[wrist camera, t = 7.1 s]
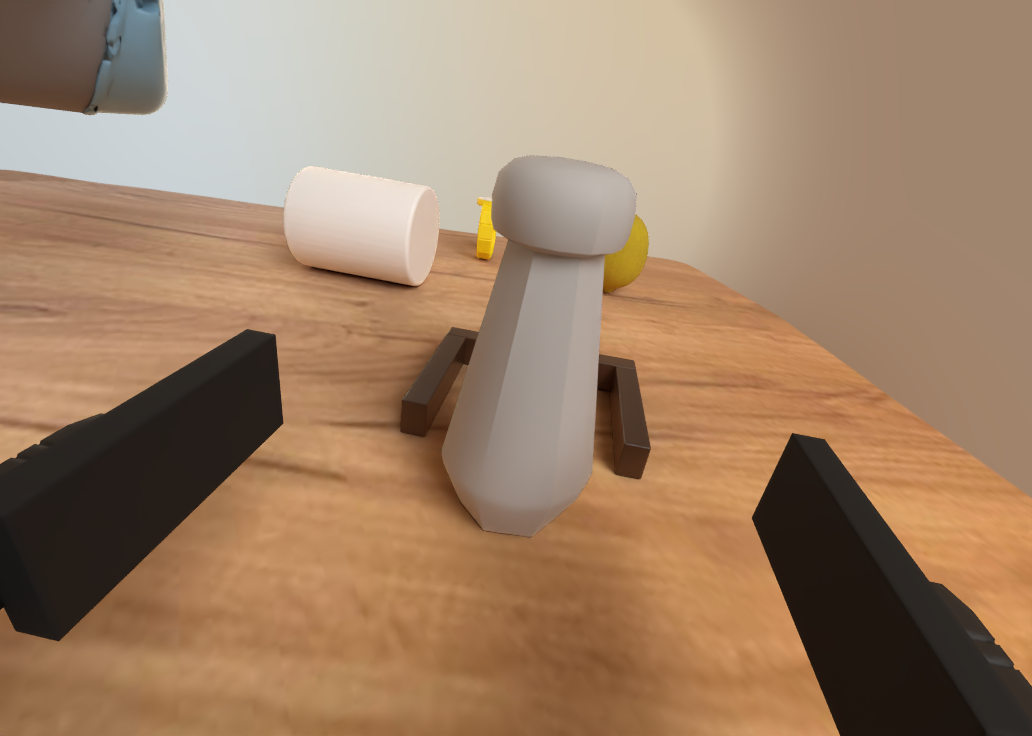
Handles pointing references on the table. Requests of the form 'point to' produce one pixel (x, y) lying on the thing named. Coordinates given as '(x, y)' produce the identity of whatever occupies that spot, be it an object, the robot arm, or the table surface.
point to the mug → (362, 225)
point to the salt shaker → (538, 345)
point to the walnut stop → (611, 377)
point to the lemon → (627, 259)
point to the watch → (485, 230)
